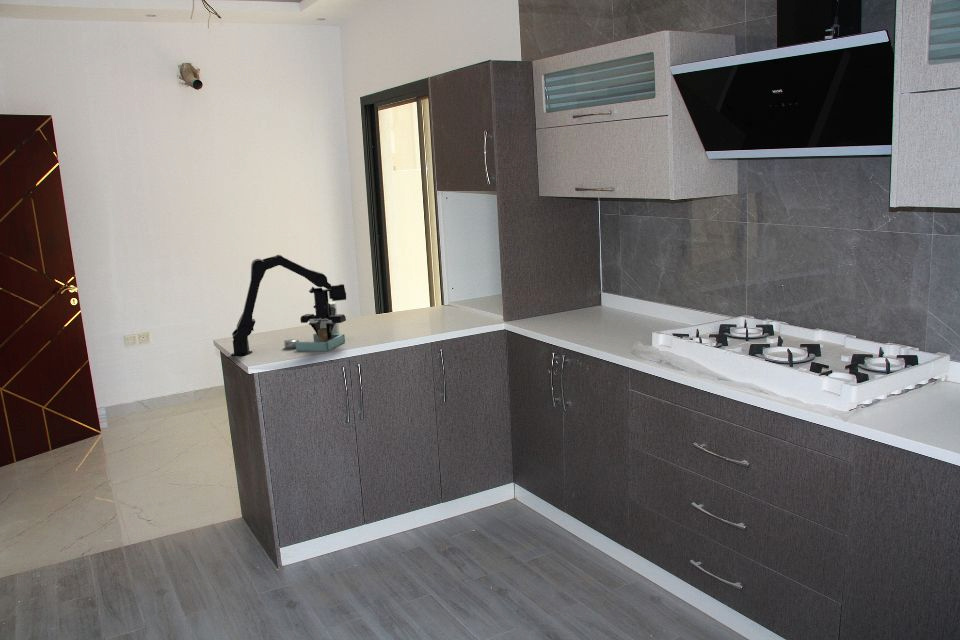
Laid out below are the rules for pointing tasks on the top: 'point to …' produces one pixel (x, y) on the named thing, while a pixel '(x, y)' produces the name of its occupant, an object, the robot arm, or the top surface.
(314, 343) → the parts bay
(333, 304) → the skincare box
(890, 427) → the top surface
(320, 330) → the walnut block
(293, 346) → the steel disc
